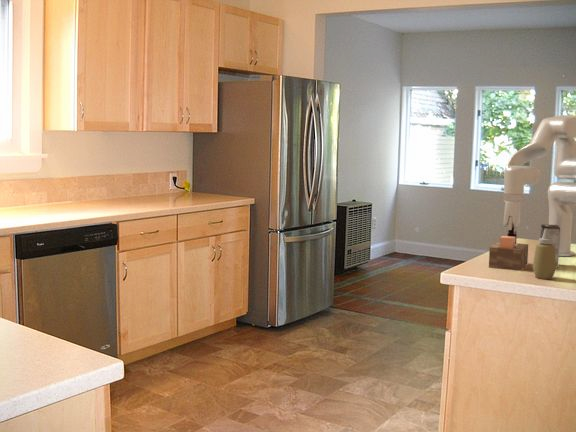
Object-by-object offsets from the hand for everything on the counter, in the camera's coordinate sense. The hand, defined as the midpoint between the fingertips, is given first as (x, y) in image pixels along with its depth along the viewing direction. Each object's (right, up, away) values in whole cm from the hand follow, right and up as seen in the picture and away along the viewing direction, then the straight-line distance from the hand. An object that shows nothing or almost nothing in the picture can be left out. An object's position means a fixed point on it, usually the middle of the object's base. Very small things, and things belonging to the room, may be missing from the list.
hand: (511, 243), depth 290 cm
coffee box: (+14, -9, -1) cm, 17 cm away
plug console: (-2, -9, -3) cm, 9 cm away
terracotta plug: (-4, -3, -7) cm, 9 cm away
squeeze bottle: (+4, -12, -26) cm, 29 cm away
